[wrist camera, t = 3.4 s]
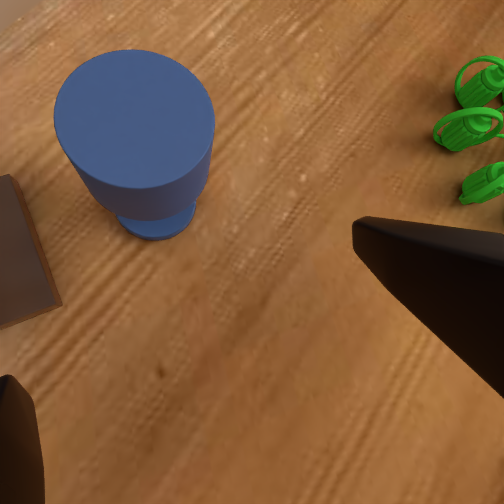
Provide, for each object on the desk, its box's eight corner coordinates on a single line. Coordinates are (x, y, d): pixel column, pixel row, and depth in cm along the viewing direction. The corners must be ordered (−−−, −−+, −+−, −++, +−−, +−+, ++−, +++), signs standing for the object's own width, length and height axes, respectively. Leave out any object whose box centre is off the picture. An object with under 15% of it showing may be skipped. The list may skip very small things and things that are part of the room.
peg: (215, 176, 25) (233, 80, 16) (186, 261, 23) (188, 209, 14) (125, 146, 24) (89, 27, 15) (89, 231, 22) (25, 157, 13)
